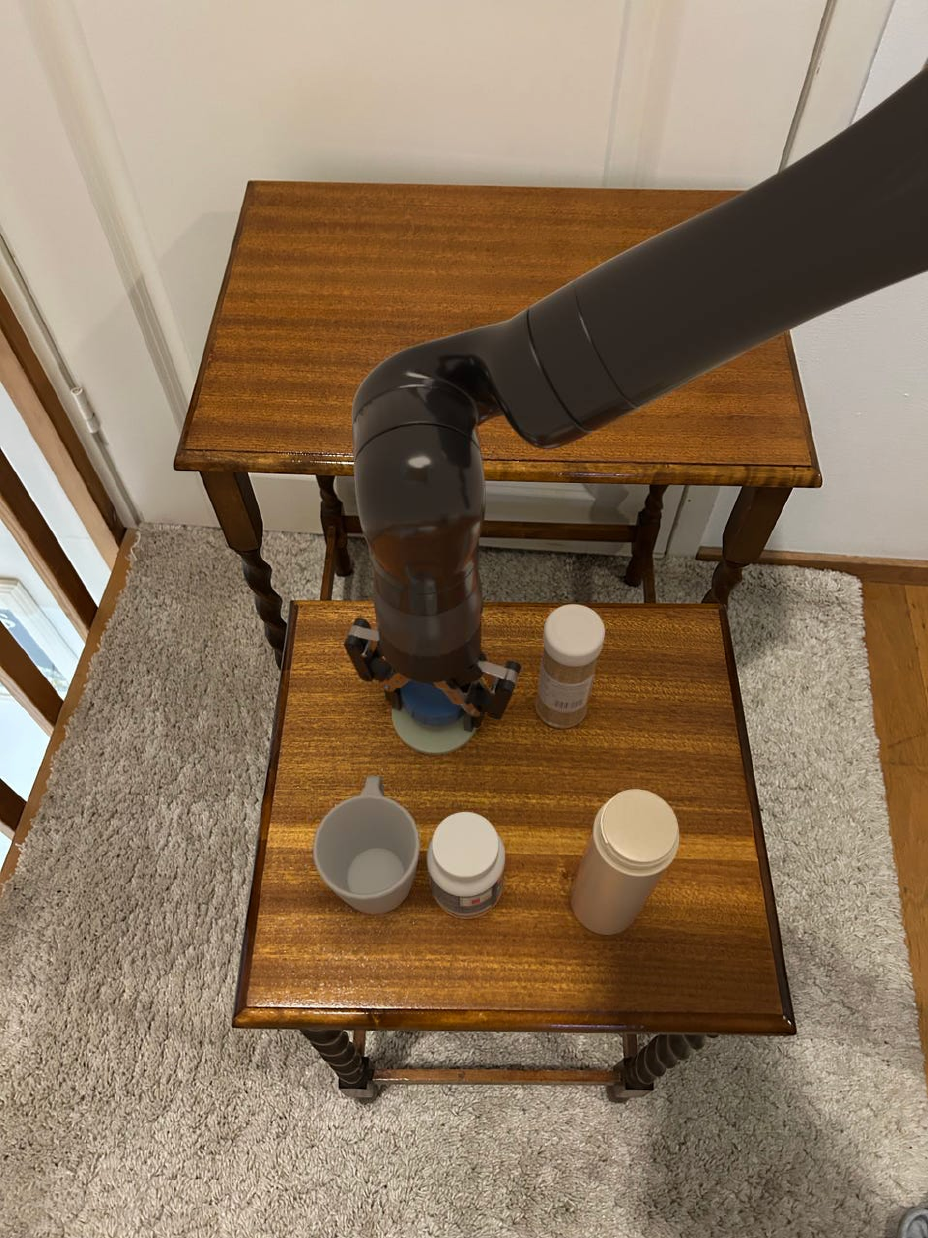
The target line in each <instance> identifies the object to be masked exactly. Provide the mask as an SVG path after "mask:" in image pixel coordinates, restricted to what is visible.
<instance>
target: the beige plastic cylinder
mask: <svg viewBox="0 0 928 1238" xmlns="http://www.w3.org/2000/svg"><path fill="white" fill-rule="evenodd" d="M679 847H680V827H679V824H678V819H677V815H675V812H674V810H673V808H672V807H671V806H670V805H669V803H667V801H666V800H665V799H663V798H662V797H660V796H659V795H658V794H656V793H654V792H651V791H649V790H644V789H639V788H635V789H626V790H623V791H621V792H618V793H616V794H615V795H613V797H611V798H610V799H608V800H607V801H605V802H604V804H603V805H602V806H601V807H600V808H599V810H598V811H597V813H596V815H595V818H594V821H593V823H592V827H591V828H590V832H589V834H588V838H587V841H586V844H585V847H584V850H583V852H582V855H581V857H580V858H581V859H580V861H579V863H578V867H577V870H576V872H575V876H574V878H573V881H572V885H571V887H570V891H569V903H570V906H571V910H572V913H573V914H574V917H575V918H576V919H577V920H578V922H579V923H580V924H581V925H582V926H583V927H584V928H586V929H587V930H588V931H590V932H593V933H595V934H598V935H603V936H613V935H617V934H620V933H623V932H625V931H627V929H629V928H630V927H631V926H632V925H633V924H634V923H635V921H636V919H637V918H638V917H639V914H640V913H641V912H642V910H643V908H644V907H645V905H646V904H647V902H648V900H649V899H650V897H651V895H653V892H654V891H655V890H656V888H657V886H658V885H659V883H660V881H661V880H662V878H663V877H664V875H665V874H666V872H667V870H668V869H669V868H670V865H671V864H672V863H673V861H674V860H675V858H676V856H677V853H678V850H679Z"/></svg>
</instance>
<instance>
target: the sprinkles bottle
mask: <svg viewBox="0 0 928 1238" xmlns="http://www.w3.org/2000/svg"><path fill="white" fill-rule="evenodd" d="M605 637H606V629H605V624H604V621H603V620H602V617H600V615H599V614H598V613H597V612H596V611H595V610H593V609H591V608H589V607H588V606H586V605H581V604H577V603H576V604H574V603H573V604H572V603H571V604H566V605H562V606H559V607H557V608H555V609H554V610H553V611H552V612H551V613H550V614H549V615H548V616H547V617H546V620H545V622H544V625H543V632H542V644H543V652H542V655H541V662H540V670H539V677H538V683H537V694H536V698H535V703H534V705H535V710H536V714H537V715H538V717H539V719H540V720H541V721H542V722H543V723H544V724H546V725H548V726H549V727H551V728H555V729H563V730H566V729H570V728H573V727H575V726H577V725H578V724H580V723H581V722H582V721H583V720H584V719H585V717H586V715H587V712H588V707H589V705H588V702H589V698H590V695H591V692H592V689H593V685H594V681H595V672H596V667H597V663H598V658H599V656H600V654H601V653H602V650H603V647H604V643H605Z"/></svg>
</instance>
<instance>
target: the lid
mask: <svg viewBox="0 0 928 1238" xmlns="http://www.w3.org/2000/svg"><path fill="white" fill-rule="evenodd" d="M400 696H401V698H402V703H403V708H405V710H406V711H407V713H408V714H409V715H410V716H411V717H412V719H415V720H416V721H418V722H420V723H422V724H424V725H429V726H438V727H439V726H445V725H449V724H451V723H452V724H453V723H454V722H455V721H457V720H459V719H460V718H461V717H462V716H463V713H464V709H463V708H462V706H461V705H456V704H453V703H452V702H451V700H450V699H449V698H448V697H447V696H446V694H445V693H444V692H443V691H442V689H438V688H437V687H436V686H433V685H431V684H427V683H421V682H417V681H414V680H409V681H408V682H407V683H406V684H405V685H403V686H402V687H401V688H400Z"/></svg>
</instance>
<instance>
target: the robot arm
mask: <svg viewBox="0 0 928 1238" xmlns="http://www.w3.org/2000/svg"><path fill="white" fill-rule="evenodd" d="M927 272H928V57H926V60H925V61H924V63H923V65H922V66H921V68H920V71H919V72H917V74H915V75H914V76H913V77H911V78H910V79H908V80H907V82H905V83H904V84H903V85H901V86H900V87H899V88H898V89H896V90H894V92H893V93H891V95H889V96H887V97H886V98H884V100H882V101H881V102H880V103H878V105H876V106H875V107H873V109H871V110H869V111H868V112H867V113H866V114H865V115H863V116H862V117H861V118H859V119H857V121H855V122H854V123H852V124H850V125H849V126H848V127H846V128H845V129H843V130H842V131H840V132H839V133H838V134H836V135H835V136H834V137H832V138H830V139H829V140H827V141H826V142H824V143H822V145H820V146H818V147H817V148H815V149H813V150H812V151H810V152H809V153H807V154H805V155H804V156H802V157H801V158H800V159H798V160H796V161H795V162H793V163H792V164H790V165H788V166H787V167H785V168H784V169H782V170H780V171H778V172H776V173H774V174H773V175H771V176H770V177H768V178H766V179H764V180H763V181H761V182H759V183H757V184H756V185H754V186H752V187H750V188H749V189H747V190H745V191H743V192H740V193H739V194H737V195H735V196H734V197H731V198H730V199H728V200H725V201H724V202H722V203H720V204H718V205H716V206H714V207H712V208H709V209H708V210H705V211H703V212H701V213H699V214H697V215H695V216H693V217H691V218H689V219H688V220H684V221H683V222H680V223H679V224H676V225H674V226H672V227H670V228H668V229H666V230H664V231H662V232H660V233H657V234H656V235H653V236H652V237H650V238H648V239H645V240H644V241H641V242H640V243H638V244H637V245H634V246H632V247H630V248H628V249H626V250H624V251H622V252H621V253H619V254H617V255H615V256H613V257H611V258H610V259H608V260H606V261H604V262H602V263H601V264H599V265H598V266H595V267H594V268H592V269H590V270H589V271H587V272H585V273H583V274H582V275H580V276H578V277H577V278H575V279H573V280H571V281H570V282H568V283H566V284H565V285H563V286H561V287H560V288H558V289H556V290H555V291H552V292H551V293H550V294H548V295H546V296H545V297H543V298H541V299H539V300H538V301H536V302H535V303H533V304H532V305H530V306H528V307H526V308H525V309H523V310H522V311H519V313H516V315H513V317H511V318H509V319H505V320H503V321H499V322H497V323H492V324H487V325H483V326H479V327H474V328H471V329H467V330H464V331H463V330H462V331H461V332H458V333H454V334H450V335H447V336H444V337H440V338H437V339H433V340H429V341H425V342H422V343H419V344H415V345H412V346H409V347H407V348H404V349H401V350H400V351H397V352H395V353H393V354H391V355H389V356H388V357H387V358H385V359H384V360H383V361H381V362H380V363H378V364H377V365H376V366H375V367H374V368H373V369H372V370H371V371H370V372H369V373H368V374H367V375H366V376H365V378H364V379H363V380H362V381H361V383H360V385H359V386H358V388H357V389H356V392H355V395H354V397H353V400H352V404H351V405H352V406H351V435H352V452H353V453H352V454H353V475H354V476H353V478H354V491H355V493H354V494H355V500H356V507H357V514H358V518H359V522H360V527H361V530H362V534H363V537H364V539H365V541H366V543H367V546H368V553H369V554H368V555H369V561H370V566H371V567H370V568H371V573H372V587H371V589H372V590H371V593H372V595H371V596H372V603H373V604H372V605H373V610H374V615H375V621H376V627H377V629H375V628H374V629H373V628H372V626H371V623H370V622H369V621H368V620H367V619H366V618H363V617H360V616H359V617H355V618H354V621H353V623H352V625H351V627H350V629H349V632H348V633H347V636H346V638H345V641H344V642H343V647H344V649H345V651H346V653H347V655H348V657H349V660H350V661H351V663H352V665H353V667H354V669H355V672H356V673H357V675H358V678H359V679H361V680H362V681H364V682H367V683H372V682H373V681H374V680H375V681H377V682H379V683H380V684H379V687H380V688H381V689H382V690H383V693H384V699H385V700H386V701H387V703H390V704H391V706H390V707H391V709H392V708H393V709H396V710H401V708H402V705H403V703H402V698H401V696H400V688H401V687H402V686H403V685H405V684H406V683H407V682H408V681H409V680H414V681H417V682H421V683H427V684H431V685H433V686H436V687H437V688H438V689H442V691H443V692H444V693H445V694H446V696H447V697H448V698H449V699H450V700H451V702H452V703H453V704H456V705H461V706H462V708H463V709H464V713H463V719H464V730H466V731H470V732H472V731H473V728H474V727H475V728H477V730H478V729H480V728H481V727H482V724H483V722H484V719H485V716H486V715H487V716H488V718H490V719H493V720H496V721H497V720H498V721H499V720H502V718H503V716H504V714H505V712H506V709H507V708H508V705H509V703H510V701H511V699H512V697H513V694H514V691H515V688H516V685H517V682H518V679H519V676H520V673H521V670H522V664H520V663H519V662H517V661H515V660H507V661H506V663H505V665H499V664H495V663H493V662H490V661H488V657H487V655H486V653H484V651H483V650H482V627H483V626H482V625H483V624H482V623H483V621H482V620H483V614H484V613H483V612H484V603H485V602H484V601H485V600H484V597H483V584H482V579H481V574H480V567H479V566H480V565H479V564H480V537H481V534H482V531H483V528H484V523H485V516H486V493H487V492H486V476H485V468H484V461H483V454H482V445H481V439H480V433H479V432H480V431H479V427H480V426H481V425H483V424H484V423H486V422H487V421H489V420H492V419H494V418H498V417H503V416H504V418H505V419H506V421H507V423H508V424H509V426H510V427H511V428H512V430H513V431H514V432H515V433H516V435H518V436H519V437H520V438H521V439H522V440H523V441H524V442H525V443H527V444H528V445H530V446H532V447H534V448H537V449H540V450H554V449H558V448H562V447H564V446H567V445H569V444H571V443H573V442H576V441H578V440H580V439H582V438H584V437H586V436H588V435H590V434H592V433H593V432H596V431H598V430H600V429H602V428H603V427H606V426H608V425H610V424H612V423H614V422H616V421H618V420H620V419H622V418H623V417H626V416H627V415H629V414H632V413H633V412H635V411H637V410H639V409H640V408H643V407H645V406H647V405H649V404H651V403H653V402H655V401H657V400H659V399H660V398H663V397H664V396H666V395H668V394H670V393H673V392H674V391H676V390H677V389H680V388H681V387H684V386H685V385H687V384H689V383H691V382H692V381H694V380H696V379H698V378H701V377H702V376H704V375H706V374H709V373H710V372H711V371H713V370H715V369H717V368H719V367H721V366H723V365H725V364H727V363H729V362H730V361H733V360H734V359H736V358H738V357H740V356H742V355H744V354H746V353H747V352H749V351H752V350H753V349H756V348H757V347H759V346H761V345H763V344H765V343H767V342H769V341H770V340H772V339H775V338H777V337H779V336H781V335H783V334H785V333H786V332H789V331H791V330H793V329H795V328H797V327H799V326H801V325H803V324H805V323H807V322H809V321H811V320H813V319H815V318H819V317H820V316H822V315H825V314H827V313H829V312H832V311H834V310H836V309H838V308H841V307H843V306H845V305H848V304H850V303H852V302H854V301H857V300H859V299H862V298H864V297H867V296H869V295H871V294H874V293H876V292H879V291H881V290H883V289H886V288H889V287H891V286H893V285H896V284H899V283H901V282H904V281H906V280H909V279H912V278H914V277H916V276H919V275H922V274H925V273H927ZM482 678H484V679H485V680H486V681H487V684H488V685H487V684H486V682H485V681H484V680H483V679H482ZM488 686H490V689H489V687H488Z"/></svg>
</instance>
